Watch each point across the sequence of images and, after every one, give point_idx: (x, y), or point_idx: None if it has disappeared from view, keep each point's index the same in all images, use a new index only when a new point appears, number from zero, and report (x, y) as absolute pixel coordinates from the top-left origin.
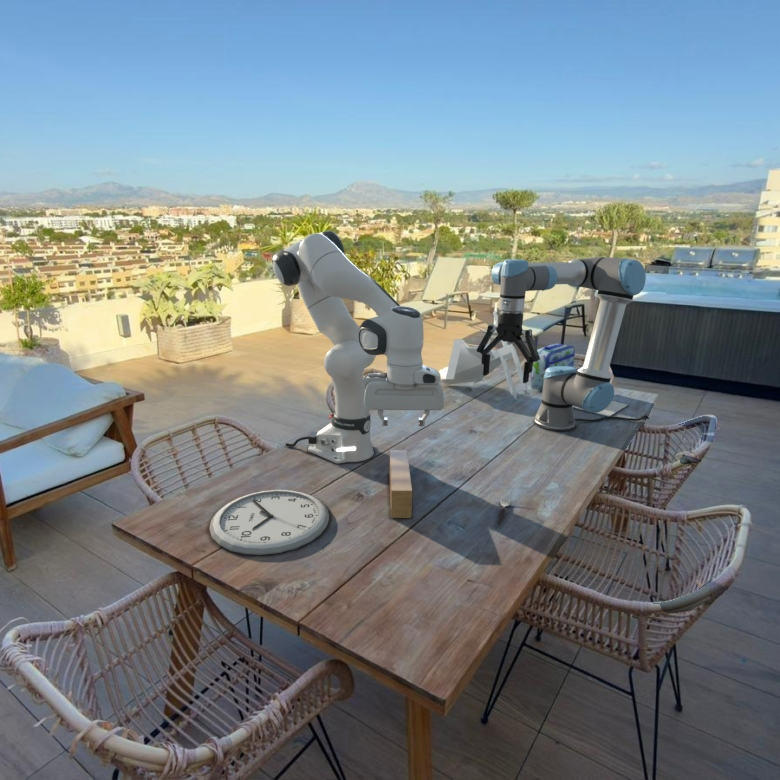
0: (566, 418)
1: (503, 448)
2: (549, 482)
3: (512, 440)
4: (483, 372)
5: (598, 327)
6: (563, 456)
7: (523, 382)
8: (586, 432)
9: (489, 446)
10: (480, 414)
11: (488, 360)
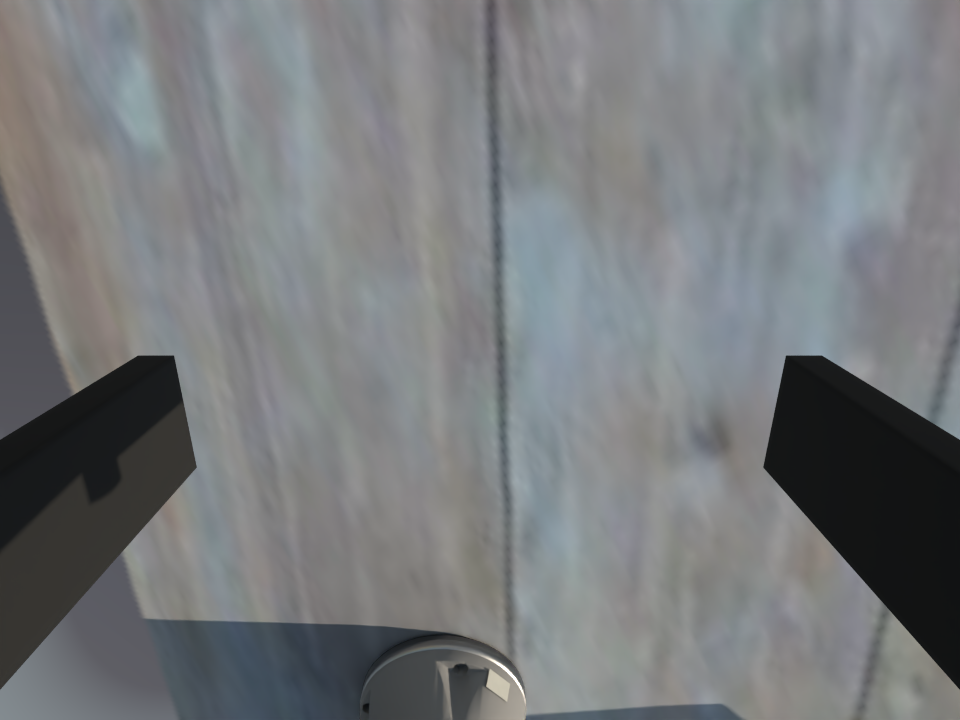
0: (374, 714)
1: (508, 350)
2: (167, 131)
3: (514, 455)
4: (842, 372)
5: None
6: (263, 431)
7: (156, 358)
8: (309, 689)
9: (573, 330)
10: (755, 626)
11: (930, 580)
